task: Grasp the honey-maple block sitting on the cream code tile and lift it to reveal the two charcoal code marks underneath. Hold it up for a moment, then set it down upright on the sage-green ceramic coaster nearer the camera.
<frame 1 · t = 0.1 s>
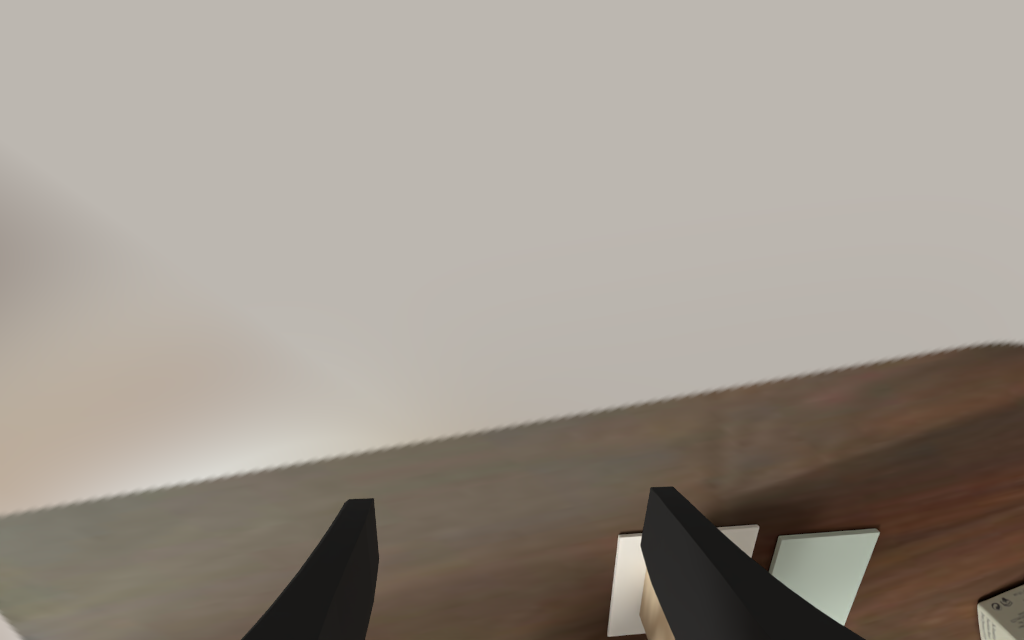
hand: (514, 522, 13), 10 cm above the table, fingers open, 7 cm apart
skincare box: (1005, 612, 34), on the table
code tile: (679, 581, 29), on the table
maple block: (680, 584, 29), resting on code tile
sage coaster: (811, 581, 30), on the table
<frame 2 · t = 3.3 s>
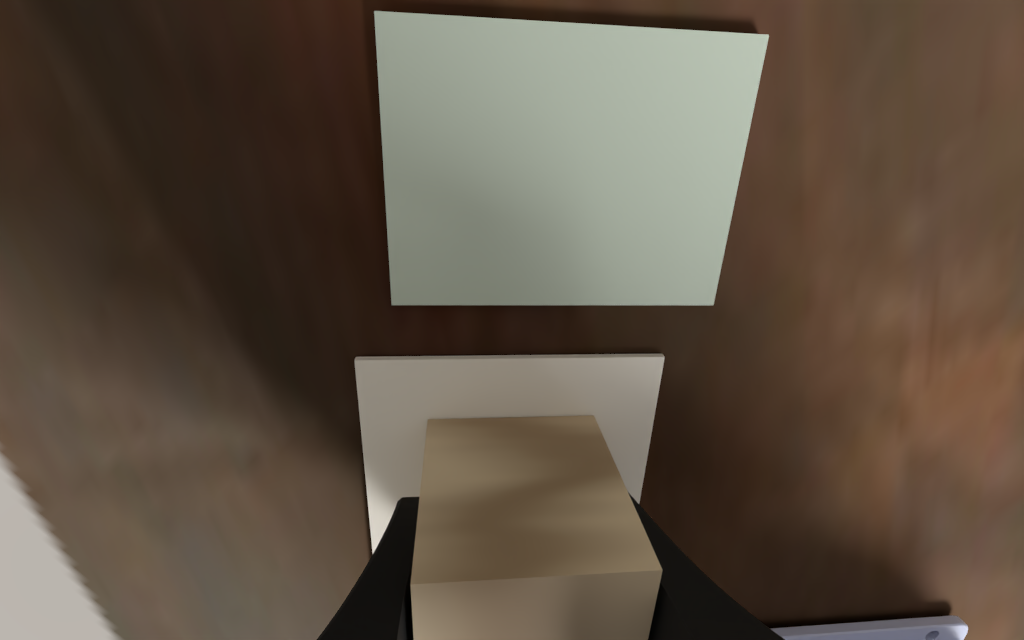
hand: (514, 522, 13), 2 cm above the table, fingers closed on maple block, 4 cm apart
code tile: (508, 478, 14), on the table
maple block: (509, 483, 14), resting on code tile, touching gripper
sage coaster: (565, 177, 11), on the table
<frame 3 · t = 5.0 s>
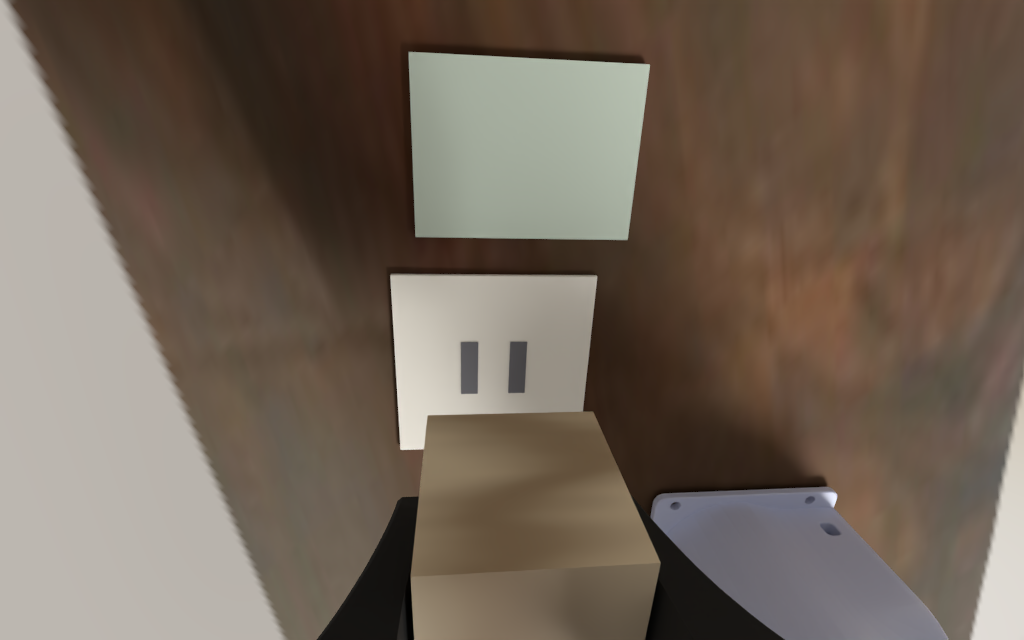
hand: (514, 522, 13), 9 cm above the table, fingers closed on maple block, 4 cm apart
code tile: (493, 365, 21), on the table
maple block: (508, 479, 14), point 7 cm above the table, touching gripper
sage coaster: (526, 153, 18), on the table
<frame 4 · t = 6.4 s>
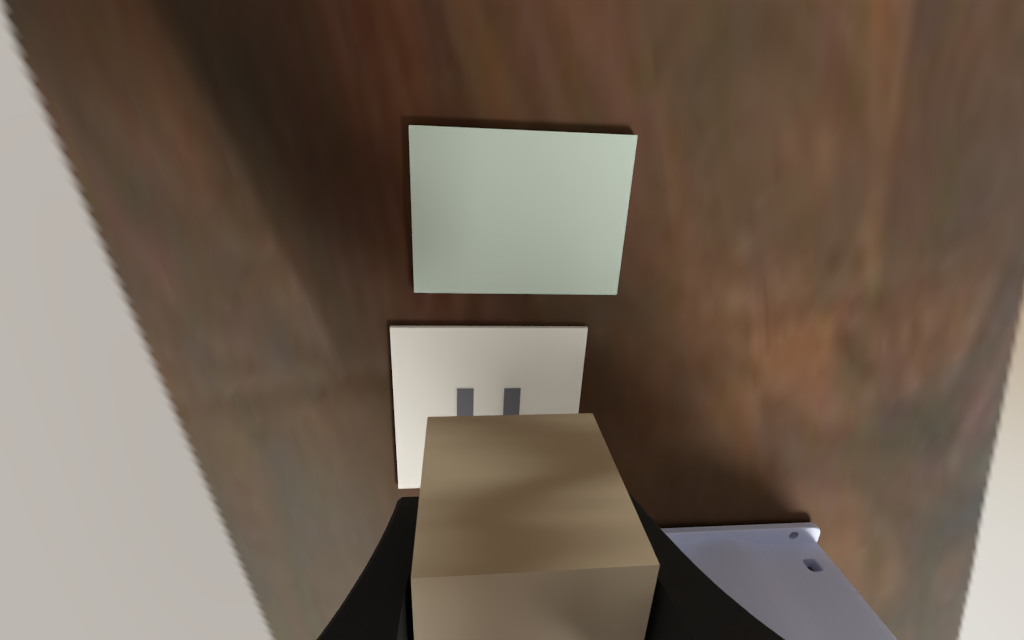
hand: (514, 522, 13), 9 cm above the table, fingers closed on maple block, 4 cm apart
code tile: (488, 409, 22), on the table
maple block: (508, 481, 14), point 7 cm above the table, touching gripper
sage coaster: (520, 215, 19), on the table
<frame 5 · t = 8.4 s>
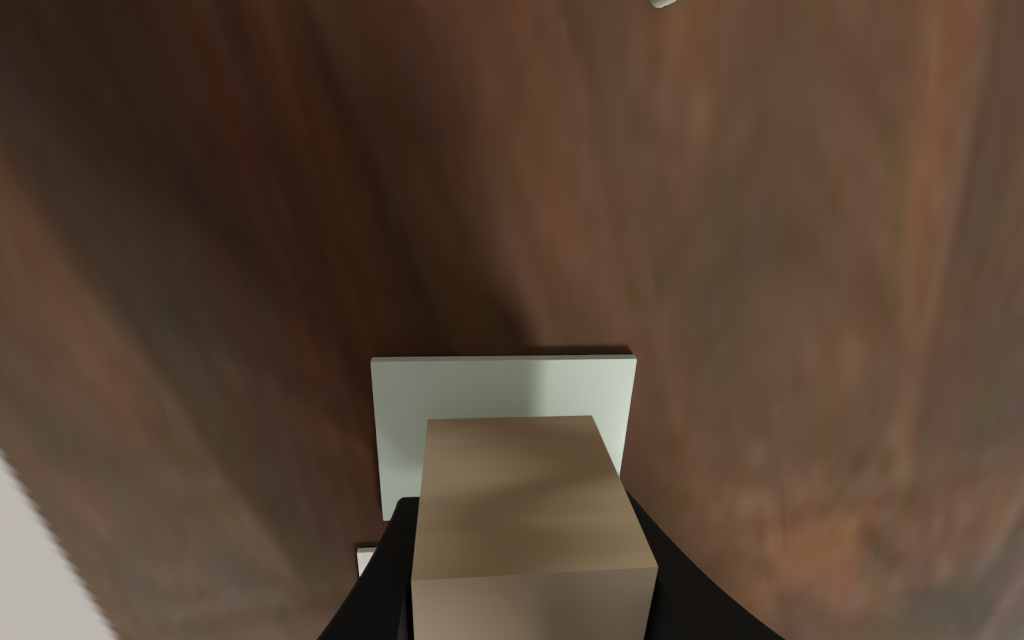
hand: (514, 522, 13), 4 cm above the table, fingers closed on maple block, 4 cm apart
maple block: (508, 482, 14), point 2 cm above the table, touching gripper
sage coaster: (503, 437, 16), on the table
when the fingers open (2 cm above the table, at t = 9.9 s): maple block stays where it is, resting on sage coaster.
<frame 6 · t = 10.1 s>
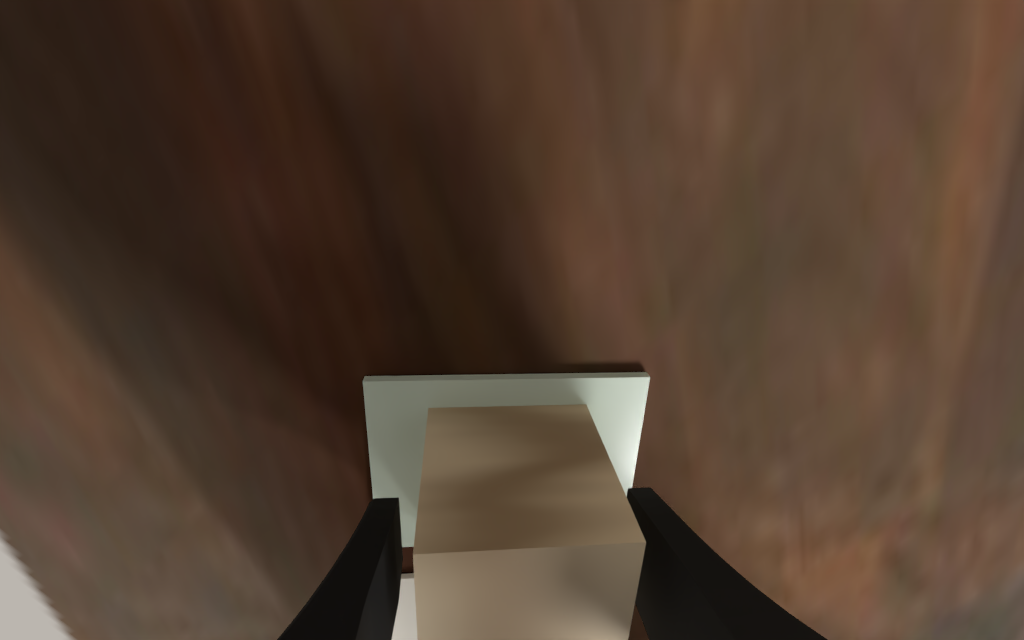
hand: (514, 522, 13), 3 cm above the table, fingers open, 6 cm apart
maple block: (506, 470, 15), resting on sage coaster
sage coaster: (506, 460, 15), on the table
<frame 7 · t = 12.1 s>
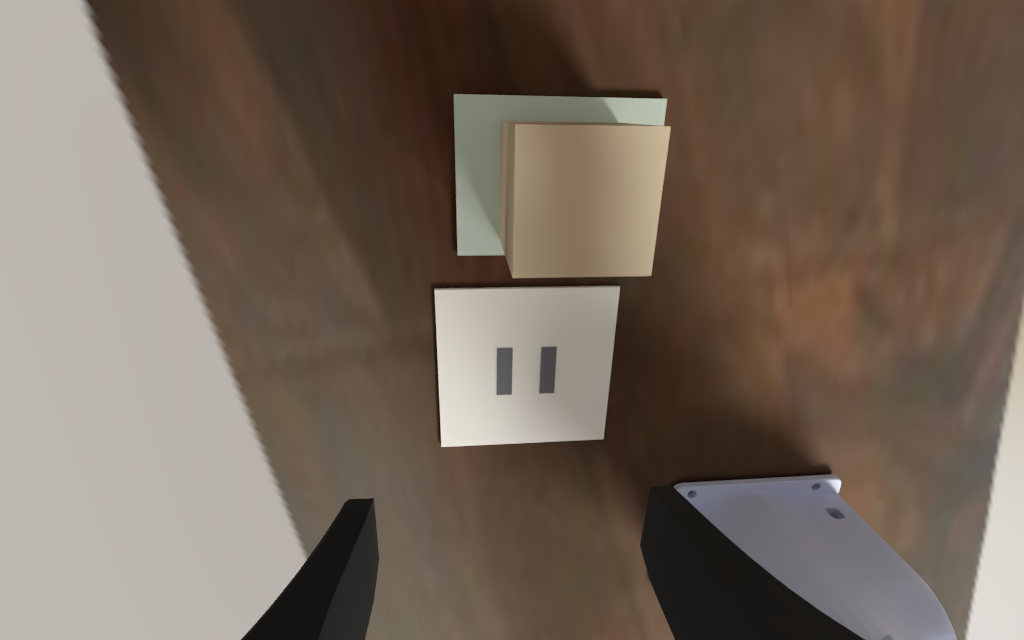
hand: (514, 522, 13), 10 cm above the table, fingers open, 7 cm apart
code tile: (525, 368, 23), on the table
maple block: (557, 183, 20), resting on sage coaster
sage coaster: (556, 179, 20), on the table
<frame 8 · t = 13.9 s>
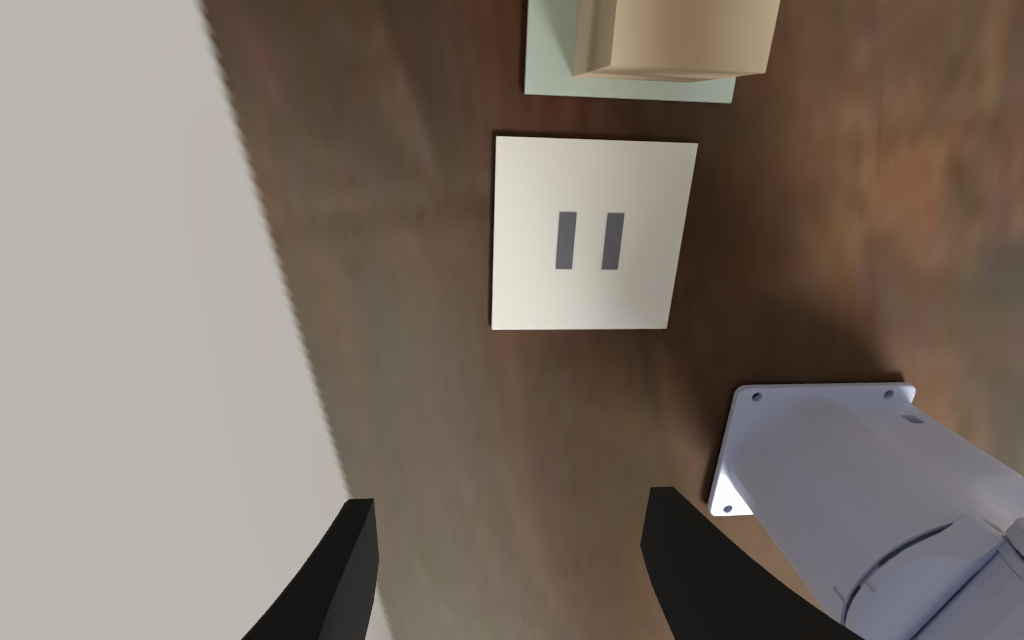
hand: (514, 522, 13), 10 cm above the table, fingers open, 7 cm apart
code tile: (588, 240, 21), on the table
maple block: (640, 9, 18), resting on sage coaster
sage coaster: (638, 7, 18), on the table
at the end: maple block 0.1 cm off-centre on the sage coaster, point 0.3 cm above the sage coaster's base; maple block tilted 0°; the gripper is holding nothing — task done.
